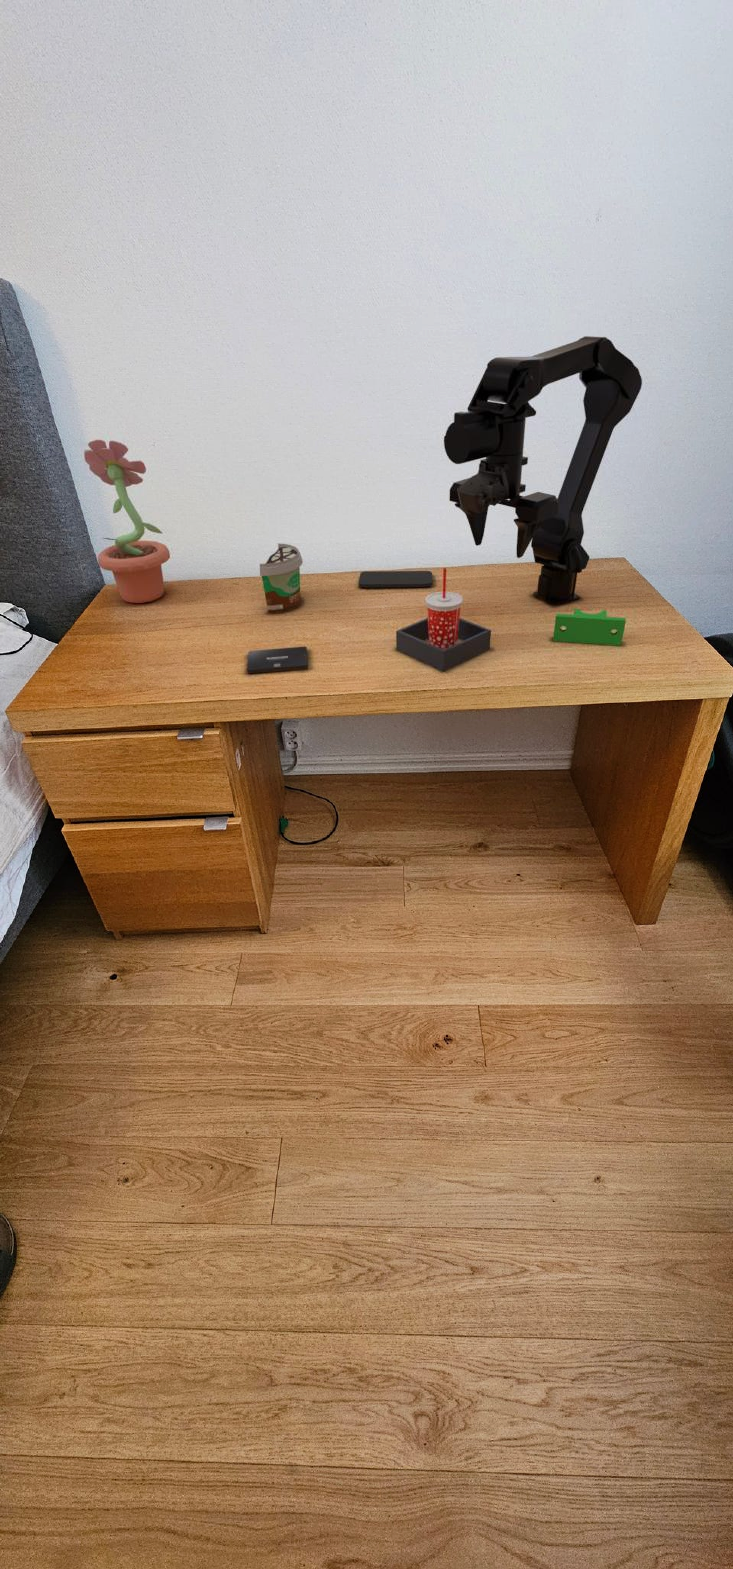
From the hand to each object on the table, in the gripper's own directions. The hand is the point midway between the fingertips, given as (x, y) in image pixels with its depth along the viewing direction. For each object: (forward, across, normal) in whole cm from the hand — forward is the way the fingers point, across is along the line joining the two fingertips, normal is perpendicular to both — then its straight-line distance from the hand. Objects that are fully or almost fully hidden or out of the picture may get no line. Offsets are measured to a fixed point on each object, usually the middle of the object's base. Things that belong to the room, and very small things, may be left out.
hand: (498, 551), depth 118 cm
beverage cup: (+13, +1, -14) cm, 19 cm away
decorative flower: (+12, -59, -40) cm, 72 cm away
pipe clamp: (+13, +16, +6) cm, 21 cm away
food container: (+13, -34, -21) cm, 42 cm away
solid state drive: (+12, -15, -37) cm, 42 cm away
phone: (+13, -27, +1) cm, 30 cm away
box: (+13, +1, -14) cm, 19 cm away
